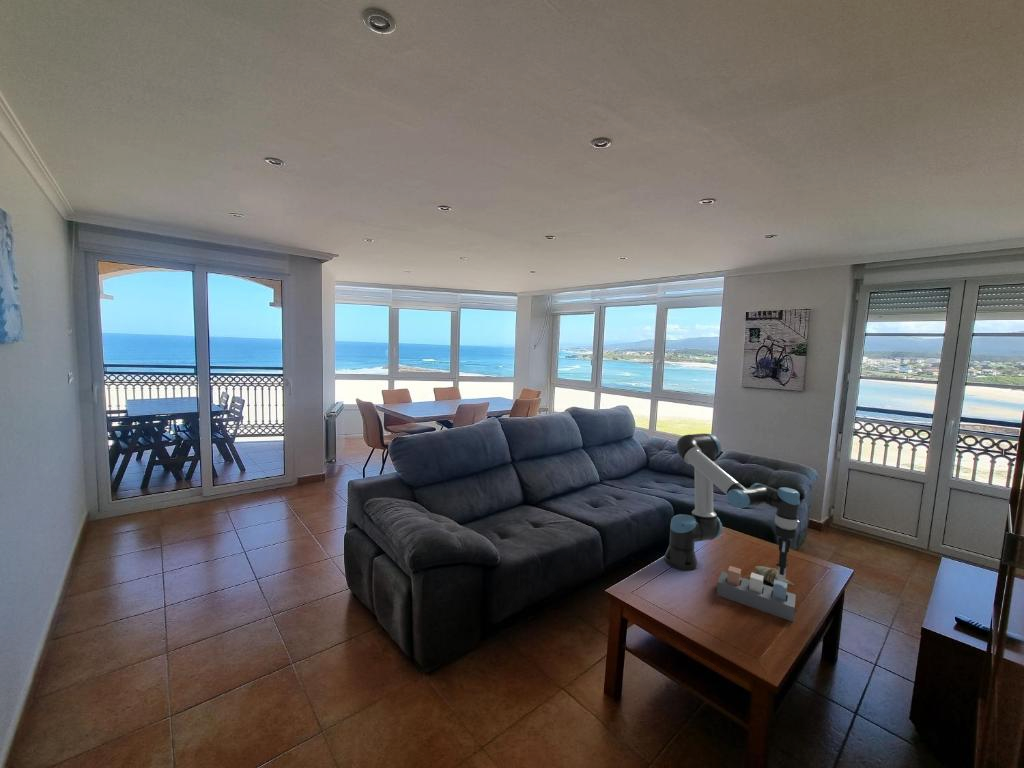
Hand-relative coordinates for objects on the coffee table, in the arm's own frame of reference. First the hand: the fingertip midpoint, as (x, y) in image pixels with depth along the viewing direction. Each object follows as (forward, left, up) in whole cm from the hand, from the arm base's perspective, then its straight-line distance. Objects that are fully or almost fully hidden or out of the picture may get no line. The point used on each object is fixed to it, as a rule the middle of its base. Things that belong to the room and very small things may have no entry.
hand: (781, 580), depth 170 cm
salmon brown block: (-17, 0, -9) cm, 19 cm away
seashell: (-4, +19, -13) cm, 23 cm away
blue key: (0, 0, -9) cm, 9 cm away
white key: (-9, 0, -9) cm, 12 cm away
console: (-9, 0, -13) cm, 15 cm away
